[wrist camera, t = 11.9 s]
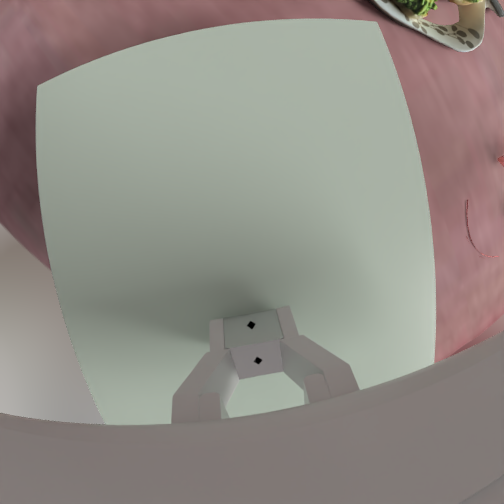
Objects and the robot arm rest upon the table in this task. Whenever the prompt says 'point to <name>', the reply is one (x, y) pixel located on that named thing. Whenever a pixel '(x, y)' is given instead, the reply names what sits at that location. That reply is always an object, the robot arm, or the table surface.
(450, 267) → the table surface
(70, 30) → the table surface
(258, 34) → the lid
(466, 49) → the salad plate
